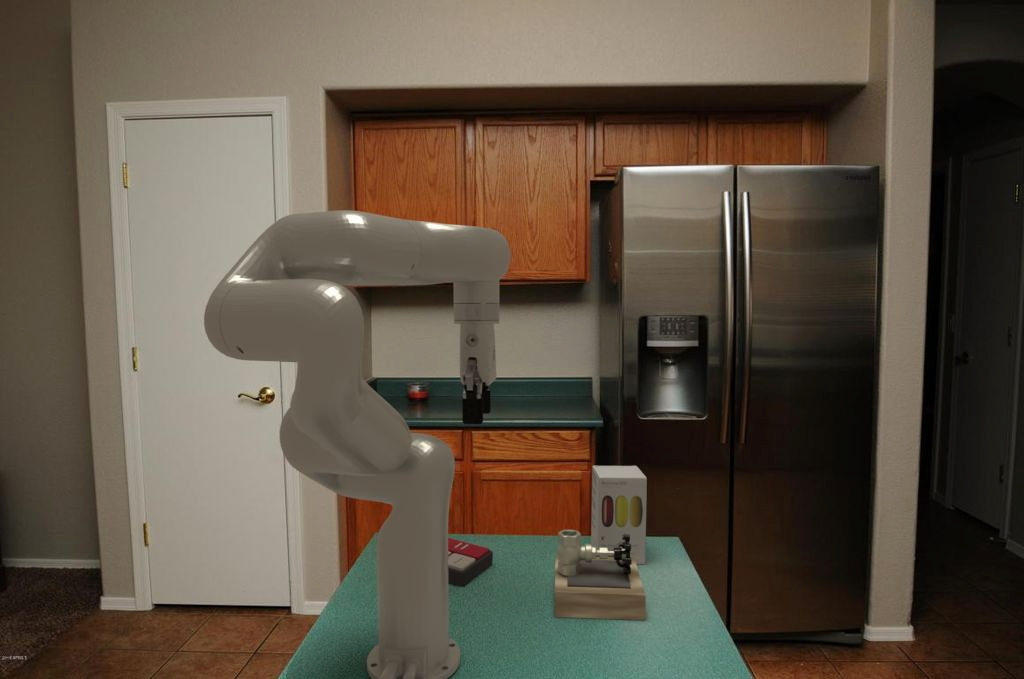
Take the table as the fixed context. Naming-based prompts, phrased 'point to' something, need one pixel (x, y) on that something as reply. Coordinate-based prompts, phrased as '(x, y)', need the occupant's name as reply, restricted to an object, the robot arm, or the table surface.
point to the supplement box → (619, 508)
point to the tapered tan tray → (600, 592)
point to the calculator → (466, 561)
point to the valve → (588, 553)
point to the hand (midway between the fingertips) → (477, 418)
